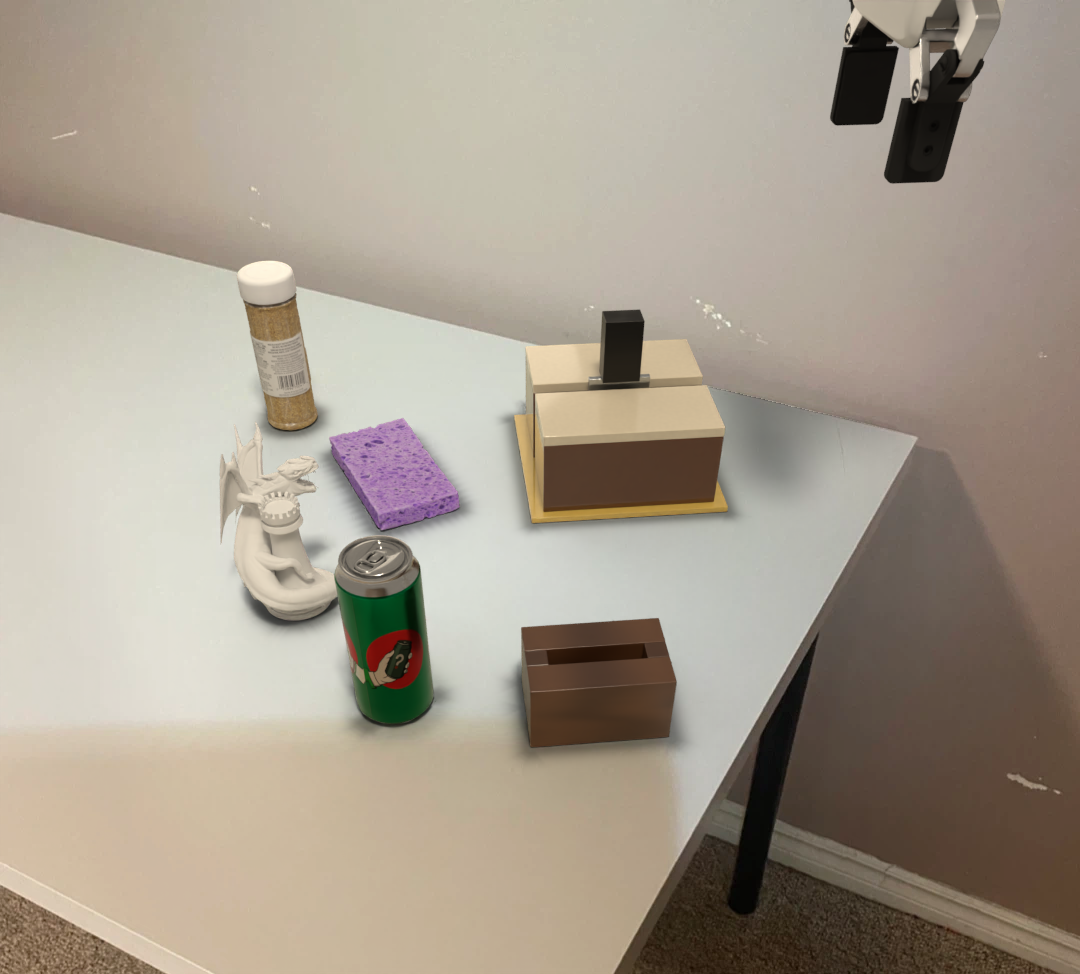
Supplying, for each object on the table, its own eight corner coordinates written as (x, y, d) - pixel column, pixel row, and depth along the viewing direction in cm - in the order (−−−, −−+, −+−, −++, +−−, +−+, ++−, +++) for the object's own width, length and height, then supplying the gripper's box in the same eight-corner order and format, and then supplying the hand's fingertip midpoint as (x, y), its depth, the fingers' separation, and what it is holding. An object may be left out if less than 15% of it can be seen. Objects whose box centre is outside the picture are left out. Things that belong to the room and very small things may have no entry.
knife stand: (652, 672, 70) (658, 617, 66) (669, 737, 66) (677, 681, 62) (521, 682, 69) (521, 626, 65) (530, 747, 65) (530, 692, 61)
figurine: (355, 617, 73) (331, 473, 65) (249, 644, 71) (209, 499, 63) (320, 534, 80) (294, 394, 72) (222, 556, 78) (182, 415, 70)
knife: (640, 450, 88) (652, 308, 79) (644, 462, 87) (657, 320, 78) (583, 453, 88) (589, 311, 79) (586, 465, 86) (592, 323, 77)
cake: (687, 410, 94) (696, 334, 88) (727, 511, 83) (740, 431, 77) (514, 419, 92) (512, 342, 87) (531, 523, 81) (531, 442, 76)
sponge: (406, 436, 90) (404, 417, 89) (461, 510, 83) (460, 491, 81) (330, 454, 88) (327, 435, 87) (379, 533, 80) (377, 513, 79)
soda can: (448, 692, 68) (436, 547, 60) (404, 740, 65) (384, 595, 57) (387, 665, 70) (366, 521, 61) (342, 711, 67) (313, 566, 58)
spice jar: (316, 404, 94) (291, 256, 84) (320, 429, 91) (294, 279, 81) (266, 409, 93) (234, 260, 84) (268, 435, 90) (236, 284, 81)
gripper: (1150, -244, 41) (1006, 204, 53) (978, -269, 53) (893, 103, 65) (970, -244, 40) (868, 209, 53) (837, -269, 52) (779, 106, 65)
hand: (882, 150), depth 59 cm, fingers open, 9 cm apart
